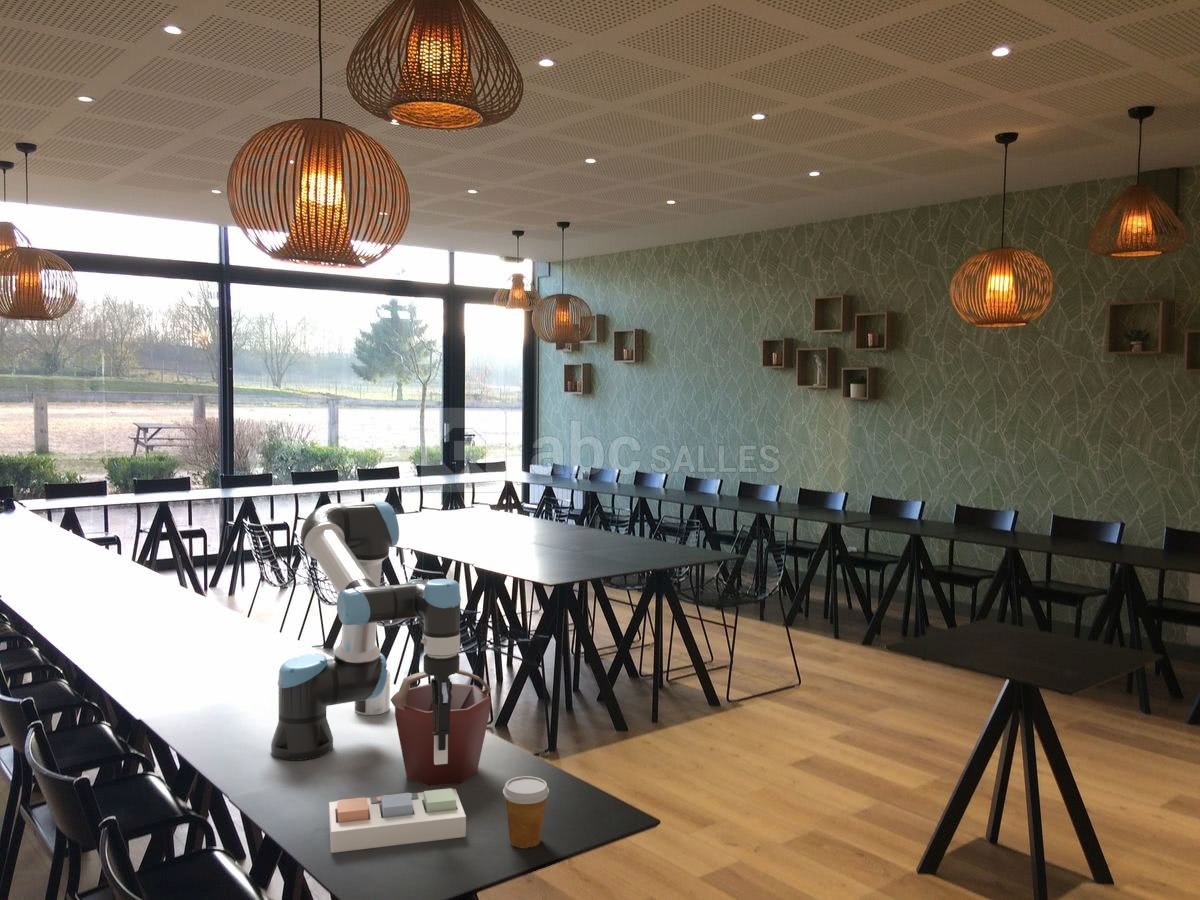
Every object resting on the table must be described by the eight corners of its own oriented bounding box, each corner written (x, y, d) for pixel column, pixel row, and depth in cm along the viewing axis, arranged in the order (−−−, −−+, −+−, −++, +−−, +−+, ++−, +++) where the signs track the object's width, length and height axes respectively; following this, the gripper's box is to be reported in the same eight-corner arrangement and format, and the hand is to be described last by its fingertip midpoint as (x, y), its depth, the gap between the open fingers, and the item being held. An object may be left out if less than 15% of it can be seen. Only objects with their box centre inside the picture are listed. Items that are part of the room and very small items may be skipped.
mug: (396, 705, 275) (396, 667, 275) (383, 719, 263) (383, 680, 263) (361, 703, 276) (361, 666, 276) (346, 717, 264) (346, 678, 264)
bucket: (391, 794, 215) (392, 687, 214) (386, 757, 236) (387, 659, 235) (497, 785, 222) (499, 680, 220) (483, 749, 243) (485, 654, 241)
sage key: (423, 802, 203) (423, 791, 203) (451, 799, 205) (451, 788, 205) (427, 814, 197) (427, 803, 197) (455, 811, 199) (455, 799, 199)
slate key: (380, 807, 200) (381, 795, 200) (409, 803, 202) (409, 792, 202) (383, 819, 195) (383, 807, 194) (412, 816, 196) (412, 804, 196)
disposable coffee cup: (548, 830, 200) (549, 775, 199) (547, 852, 190) (548, 794, 189) (503, 830, 199) (504, 775, 198) (500, 852, 190) (501, 794, 189)
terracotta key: (337, 811, 198) (337, 800, 197) (366, 808, 199) (366, 797, 199) (338, 824, 192) (338, 812, 192) (368, 821, 194) (368, 809, 193)
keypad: (329, 821, 201) (329, 800, 201) (455, 807, 209) (455, 786, 209) (330, 852, 188) (331, 829, 188) (465, 836, 196) (466, 814, 196)
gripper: (420, 646, 204) (419, 753, 205) (427, 663, 191) (426, 776, 193) (454, 644, 206) (453, 750, 207) (464, 660, 194) (463, 772, 195)
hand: (440, 762), depth 200 cm, fingers closed
